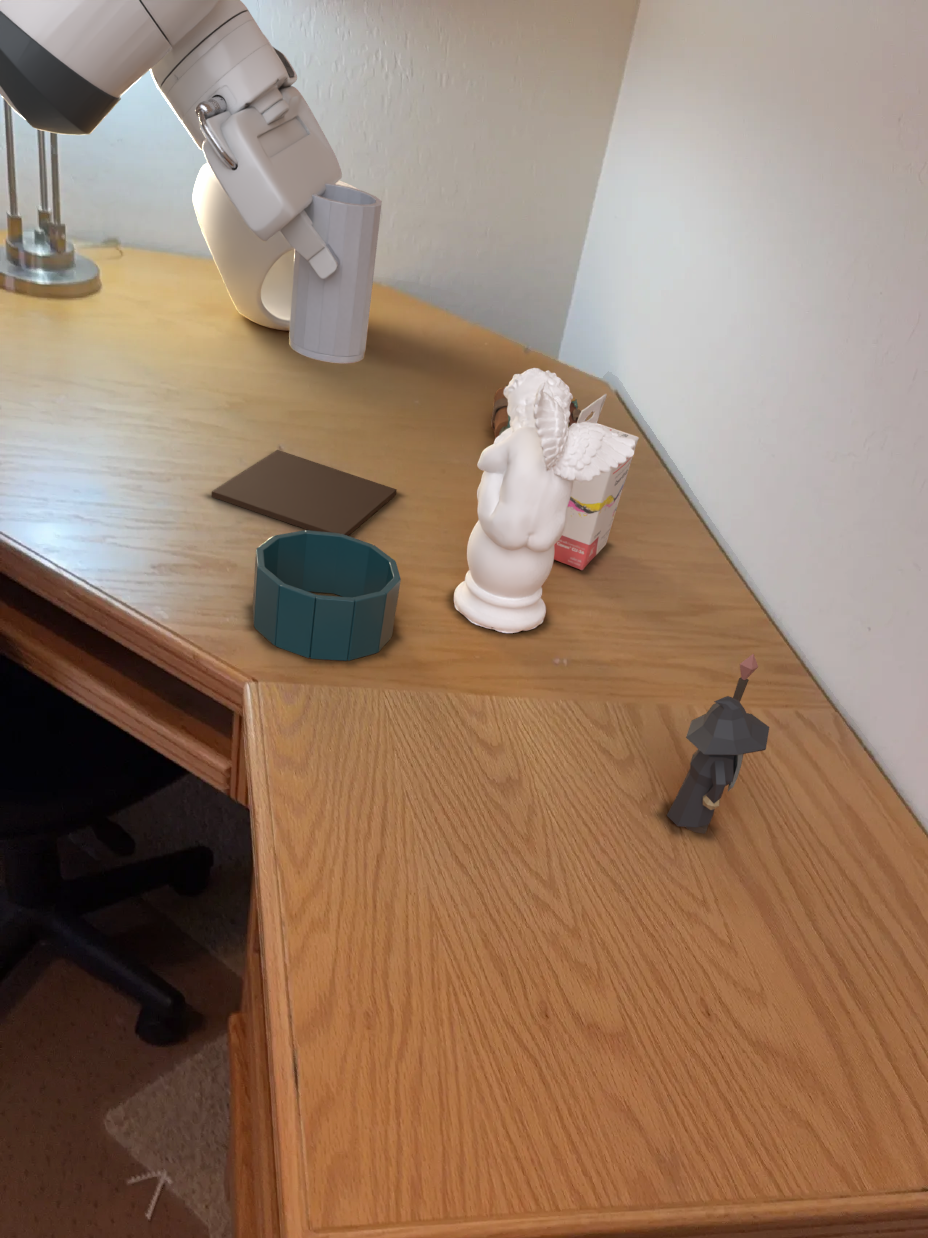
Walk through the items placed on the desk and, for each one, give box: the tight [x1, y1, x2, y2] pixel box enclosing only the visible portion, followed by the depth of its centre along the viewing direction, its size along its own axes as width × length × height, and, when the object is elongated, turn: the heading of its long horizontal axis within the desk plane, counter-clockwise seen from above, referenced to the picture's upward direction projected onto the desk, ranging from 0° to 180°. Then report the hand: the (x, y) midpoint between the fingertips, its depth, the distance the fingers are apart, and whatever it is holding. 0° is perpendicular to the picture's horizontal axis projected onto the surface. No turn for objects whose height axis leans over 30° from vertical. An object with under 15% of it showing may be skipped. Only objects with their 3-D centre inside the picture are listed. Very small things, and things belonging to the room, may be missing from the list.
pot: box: [192, 162, 360, 332], centre depth 142 cm, size 24×24×18 cm
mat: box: [211, 449, 398, 536], centre depth 108 cm, size 14×14×1 cm
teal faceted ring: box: [252, 529, 402, 662], centre depth 88 cm, size 12×12×6 cm
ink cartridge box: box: [554, 393, 640, 571], centre depth 106 cm, size 9×5×15 cm, turn 157°
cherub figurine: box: [453, 367, 635, 634], centre depth 90 cm, size 12×12×22 cm
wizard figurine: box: [666, 653, 770, 835], centre depth 76 cm, size 8×6×12 cm
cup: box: [288, 183, 383, 364], centre depth 89 cm, size 7×7×12 cm
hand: (341, 261), depth 88 cm, fingers closed on cup, 7 cm apart
